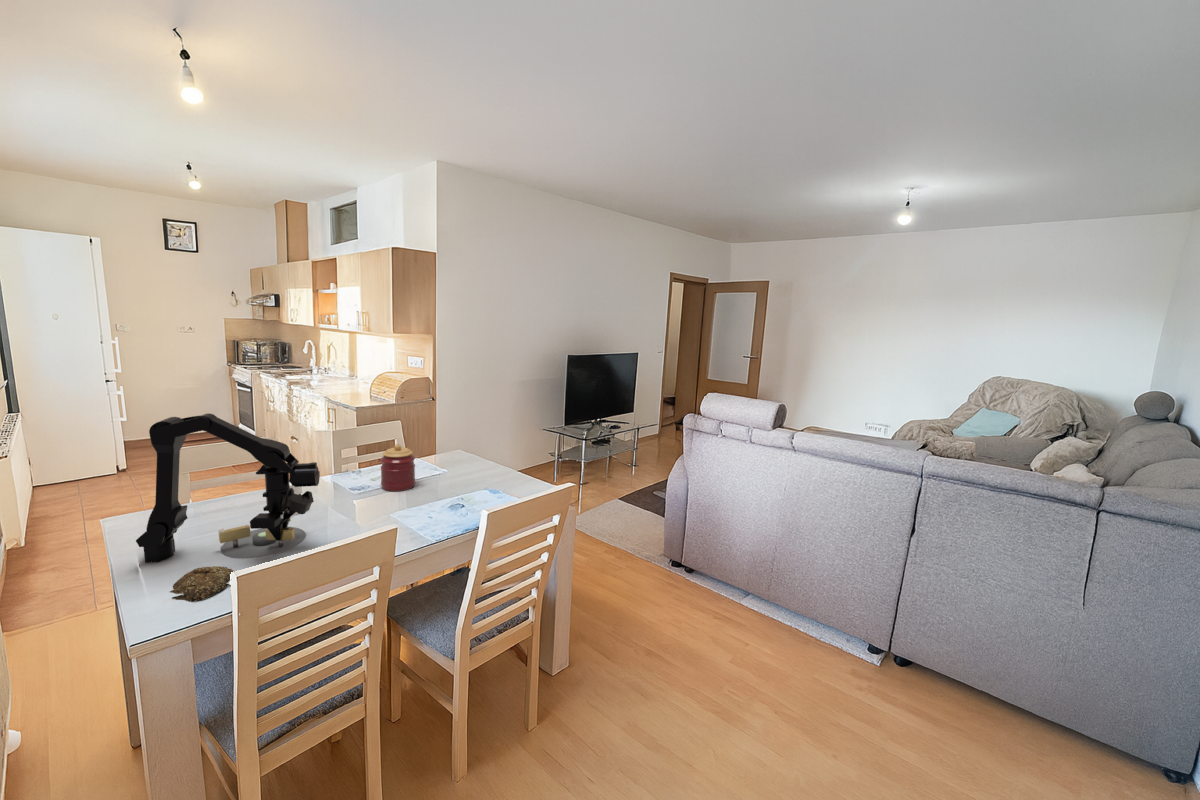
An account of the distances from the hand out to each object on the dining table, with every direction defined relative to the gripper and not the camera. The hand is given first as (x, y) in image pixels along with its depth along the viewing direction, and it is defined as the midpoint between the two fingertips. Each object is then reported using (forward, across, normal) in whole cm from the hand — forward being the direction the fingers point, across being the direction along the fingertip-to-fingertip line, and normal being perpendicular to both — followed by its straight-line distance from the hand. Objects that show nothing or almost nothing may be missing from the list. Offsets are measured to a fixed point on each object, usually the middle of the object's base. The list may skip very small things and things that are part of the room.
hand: (280, 538), depth 142 cm
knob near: (+2, 0, 0) cm, 2 cm away
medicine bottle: (+4, +26, +9) cm, 28 cm away
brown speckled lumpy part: (+4, -19, +9) cm, 22 cm away
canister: (+4, +56, -18) cm, 58 cm away
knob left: (+2, 0, +12) cm, 12 cm away
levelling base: (+4, +4, +6) cm, 8 cm away
